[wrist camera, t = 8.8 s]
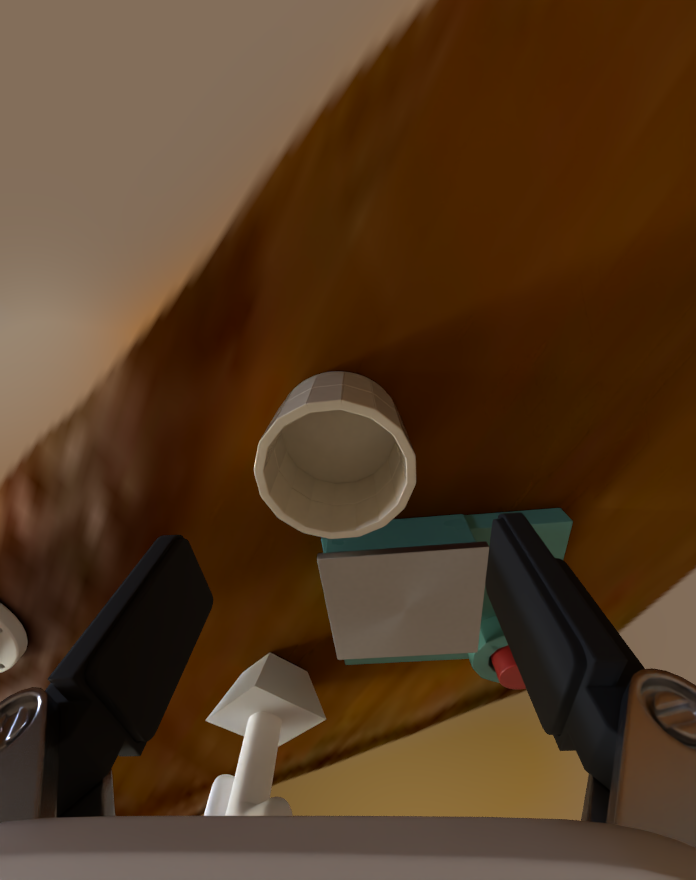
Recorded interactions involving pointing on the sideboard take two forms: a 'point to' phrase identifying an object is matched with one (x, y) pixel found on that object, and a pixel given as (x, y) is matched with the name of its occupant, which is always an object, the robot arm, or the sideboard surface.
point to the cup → (336, 458)
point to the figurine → (261, 734)
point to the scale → (555, 536)
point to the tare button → (507, 668)
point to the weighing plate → (405, 589)
